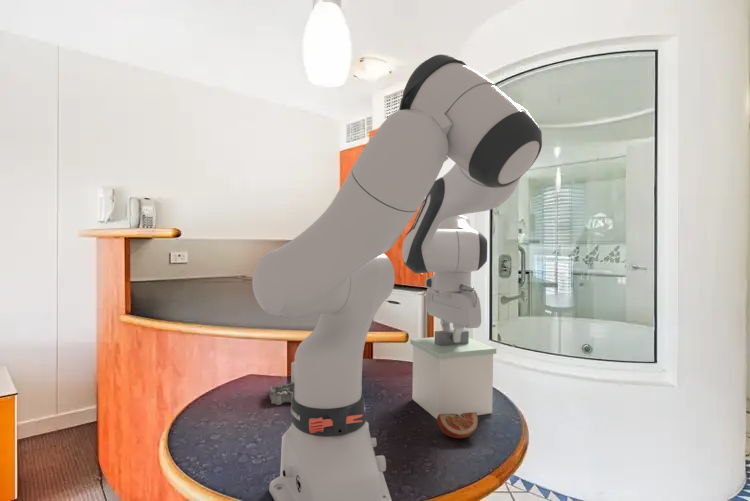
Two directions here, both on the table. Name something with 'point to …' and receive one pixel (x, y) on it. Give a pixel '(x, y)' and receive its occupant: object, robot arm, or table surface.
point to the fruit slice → (458, 424)
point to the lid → (452, 345)
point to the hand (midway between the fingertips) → (451, 339)
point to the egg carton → (282, 393)
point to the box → (452, 383)
